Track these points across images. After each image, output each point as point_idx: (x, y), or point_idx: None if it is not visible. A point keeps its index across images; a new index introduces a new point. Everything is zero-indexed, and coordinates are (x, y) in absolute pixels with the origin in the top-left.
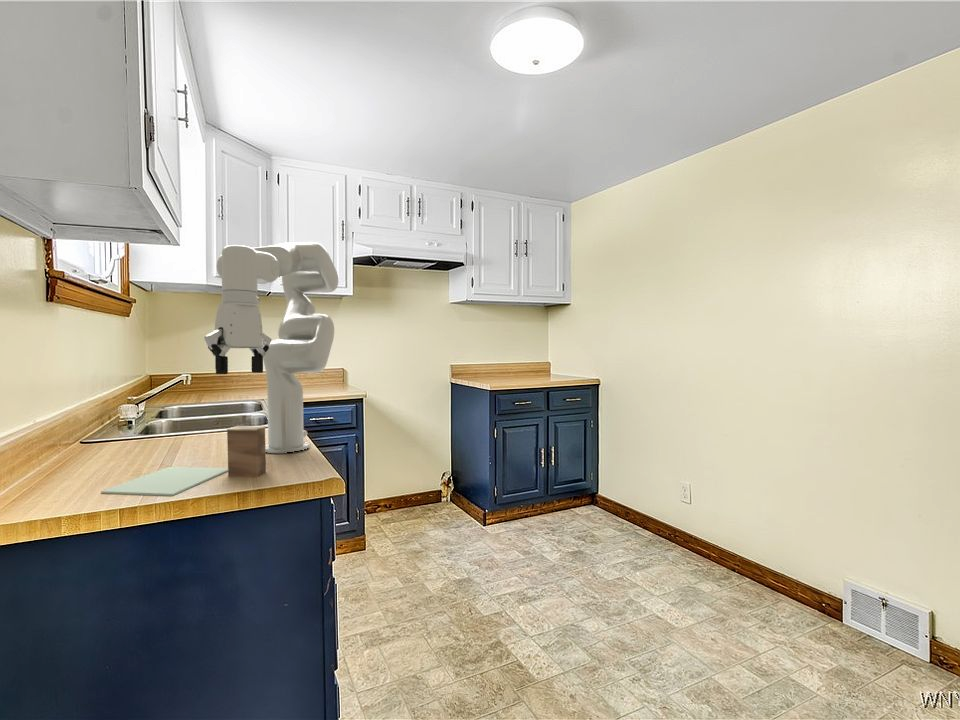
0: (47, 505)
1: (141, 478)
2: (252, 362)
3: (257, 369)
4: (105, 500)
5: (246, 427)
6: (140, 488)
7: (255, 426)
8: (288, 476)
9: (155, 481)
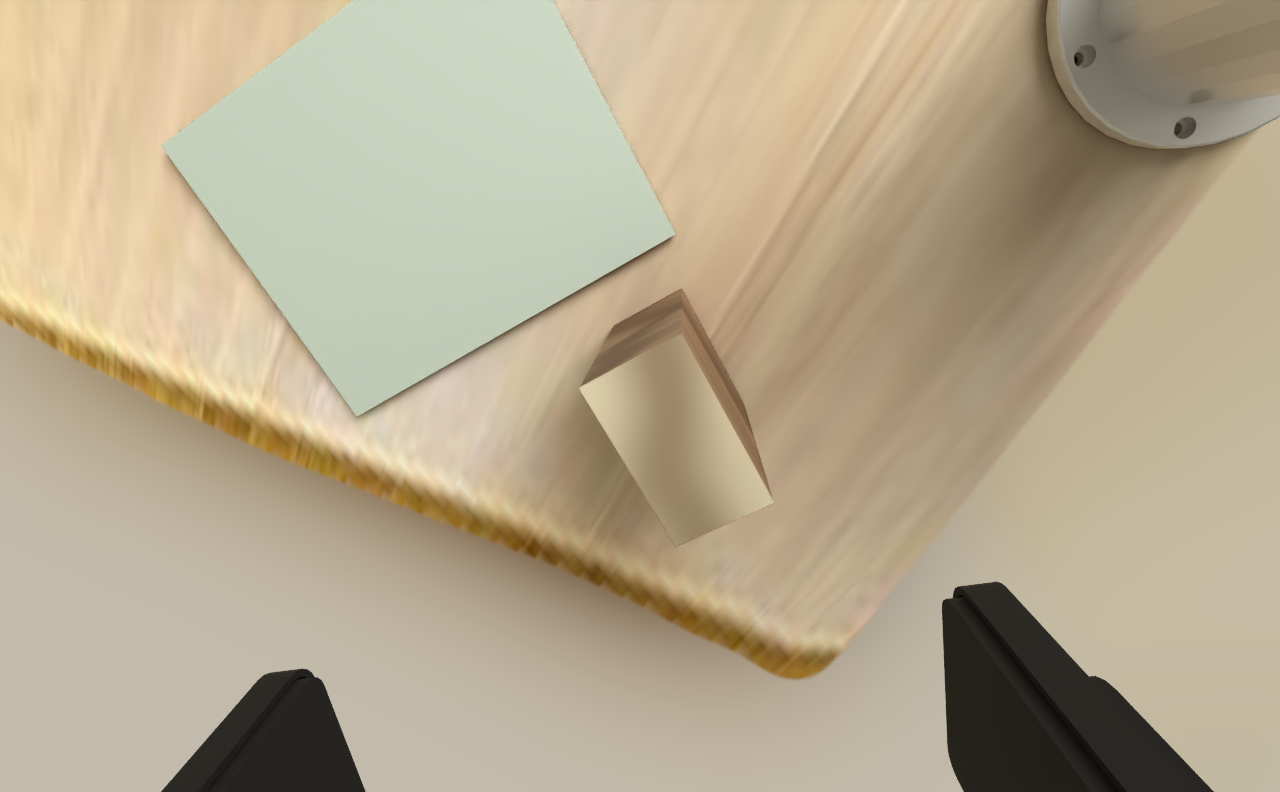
0: (9, 143)
1: (325, 58)
2: (1049, 757)
3: (970, 748)
4: (178, 256)
5: (679, 446)
6: (287, 241)
7: (734, 461)
8: (763, 517)
9: (357, 175)
